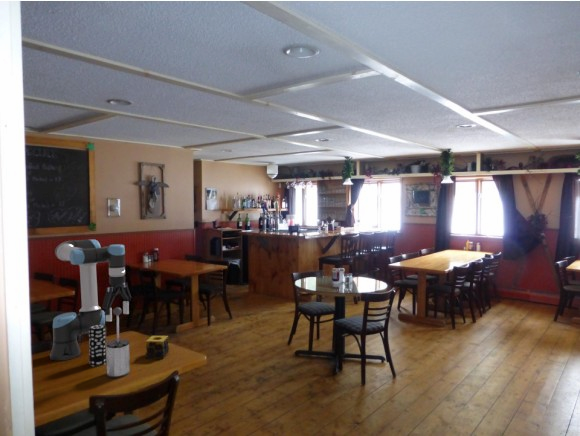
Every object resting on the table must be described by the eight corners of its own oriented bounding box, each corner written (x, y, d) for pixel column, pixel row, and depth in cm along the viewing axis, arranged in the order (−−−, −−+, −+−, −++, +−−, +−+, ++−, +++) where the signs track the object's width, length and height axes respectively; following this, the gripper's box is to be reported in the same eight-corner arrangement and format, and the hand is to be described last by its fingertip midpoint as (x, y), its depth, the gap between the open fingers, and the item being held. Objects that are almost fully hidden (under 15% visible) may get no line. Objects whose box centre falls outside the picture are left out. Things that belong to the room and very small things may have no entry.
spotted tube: (99, 367, 222) (99, 329, 221) (85, 365, 223) (85, 328, 223) (109, 361, 230) (109, 325, 229) (96, 359, 232) (95, 324, 231)
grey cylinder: (102, 376, 210) (102, 345, 209) (119, 366, 223) (118, 336, 222) (121, 379, 207) (120, 347, 207) (136, 368, 220) (136, 338, 219)
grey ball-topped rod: (106, 357, 210) (106, 308, 209) (116, 351, 218) (115, 305, 217) (120, 358, 209) (119, 309, 207) (129, 353, 216) (128, 306, 215)
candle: (163, 359, 233) (163, 341, 233) (145, 359, 233) (145, 341, 233) (169, 352, 243) (169, 335, 243) (151, 352, 244) (151, 335, 243)
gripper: (107, 280, 198) (108, 325, 199) (138, 271, 222) (138, 311, 223) (93, 279, 200) (94, 323, 201) (125, 271, 224) (126, 310, 225)
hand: (117, 317), depth 212 cm, fingers open, 13 cm apart
